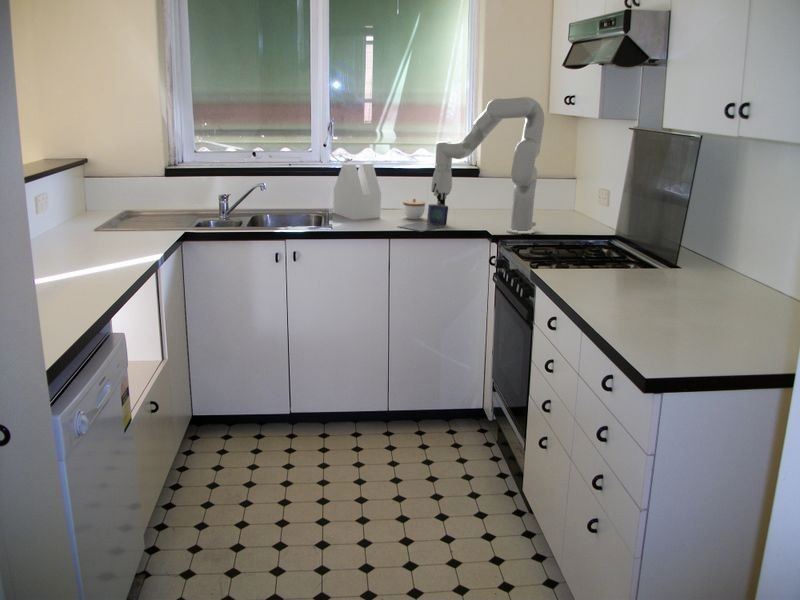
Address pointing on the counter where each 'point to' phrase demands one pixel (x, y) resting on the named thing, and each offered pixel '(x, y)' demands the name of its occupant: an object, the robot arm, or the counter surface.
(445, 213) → the blue clover wallet
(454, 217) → the counter surface
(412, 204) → the lidded jar
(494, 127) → the robot arm
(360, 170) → the grey notched block
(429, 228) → the slate board
